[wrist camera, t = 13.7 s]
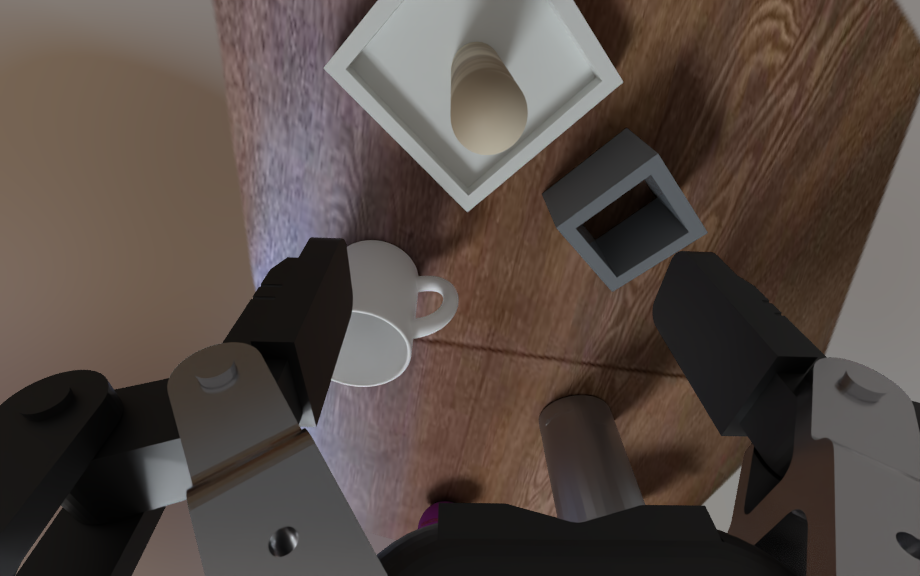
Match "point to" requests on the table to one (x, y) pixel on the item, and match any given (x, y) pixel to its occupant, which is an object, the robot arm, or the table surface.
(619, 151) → the grey hollow box
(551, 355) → the table surface
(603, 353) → the table surface
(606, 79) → the white tray
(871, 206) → the table surface
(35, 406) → the robot arm
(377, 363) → the mug
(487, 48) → the birch pin
